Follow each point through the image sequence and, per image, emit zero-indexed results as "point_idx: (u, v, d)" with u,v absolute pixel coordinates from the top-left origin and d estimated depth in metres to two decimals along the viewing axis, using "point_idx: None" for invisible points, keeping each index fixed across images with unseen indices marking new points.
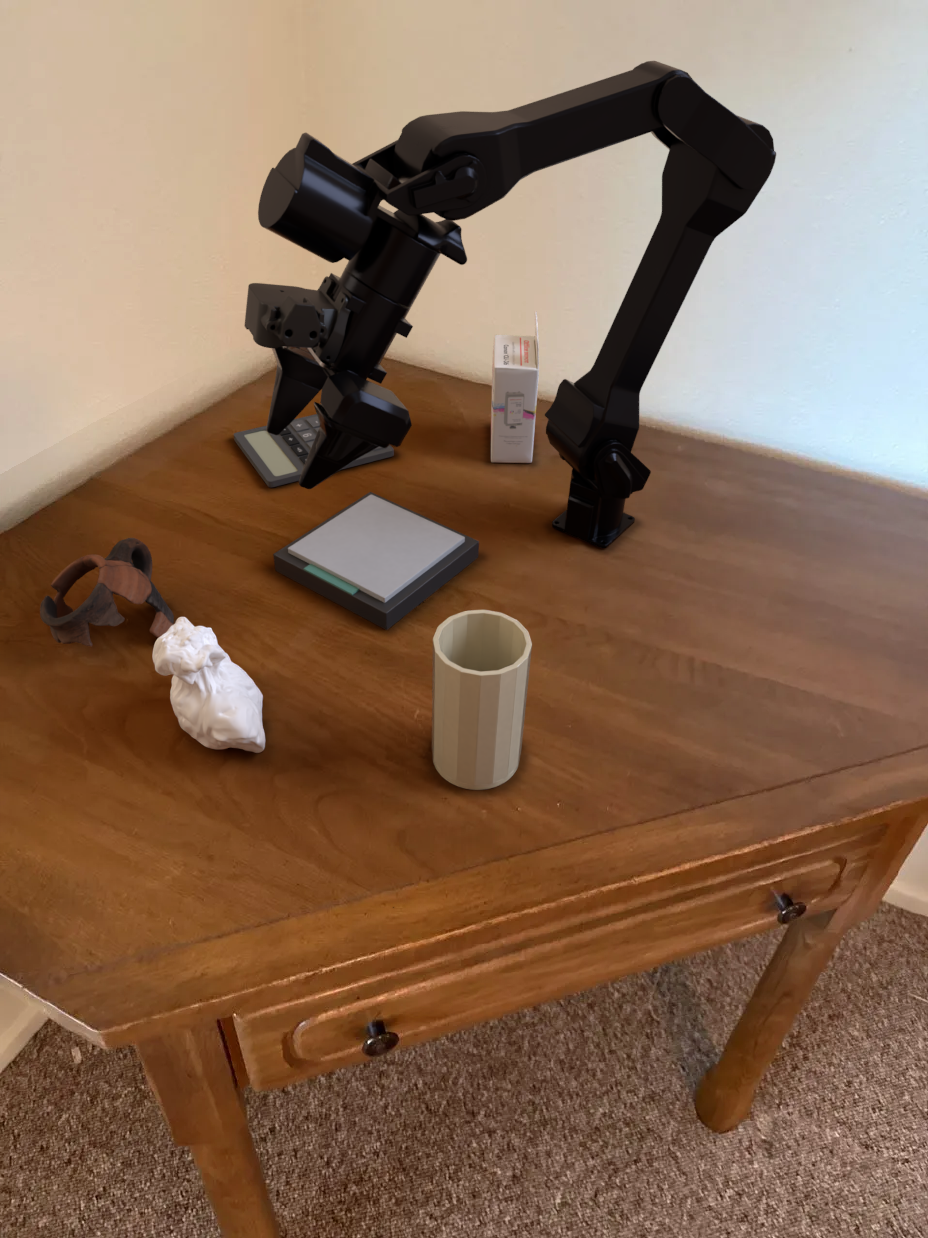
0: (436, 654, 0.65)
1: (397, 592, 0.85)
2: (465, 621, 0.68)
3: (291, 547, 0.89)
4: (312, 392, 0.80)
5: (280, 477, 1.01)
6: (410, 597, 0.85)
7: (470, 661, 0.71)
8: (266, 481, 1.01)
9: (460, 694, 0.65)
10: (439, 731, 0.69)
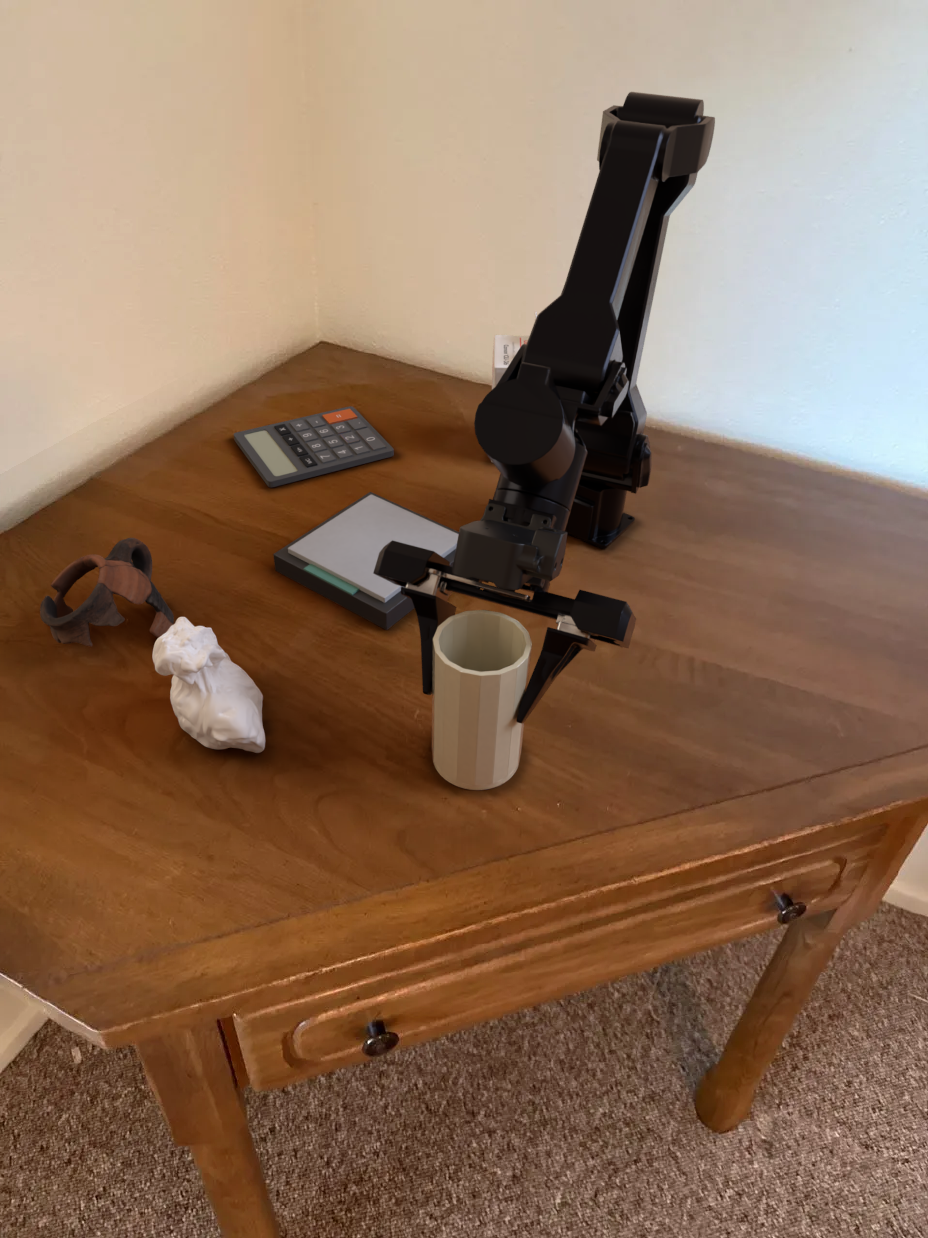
0: (436, 654, 0.65)
1: (397, 592, 0.85)
2: (465, 621, 0.68)
3: (291, 547, 0.89)
4: None
5: (280, 477, 1.01)
6: None
7: (470, 661, 0.71)
8: (266, 481, 1.01)
9: (460, 695, 0.65)
10: (439, 731, 0.69)
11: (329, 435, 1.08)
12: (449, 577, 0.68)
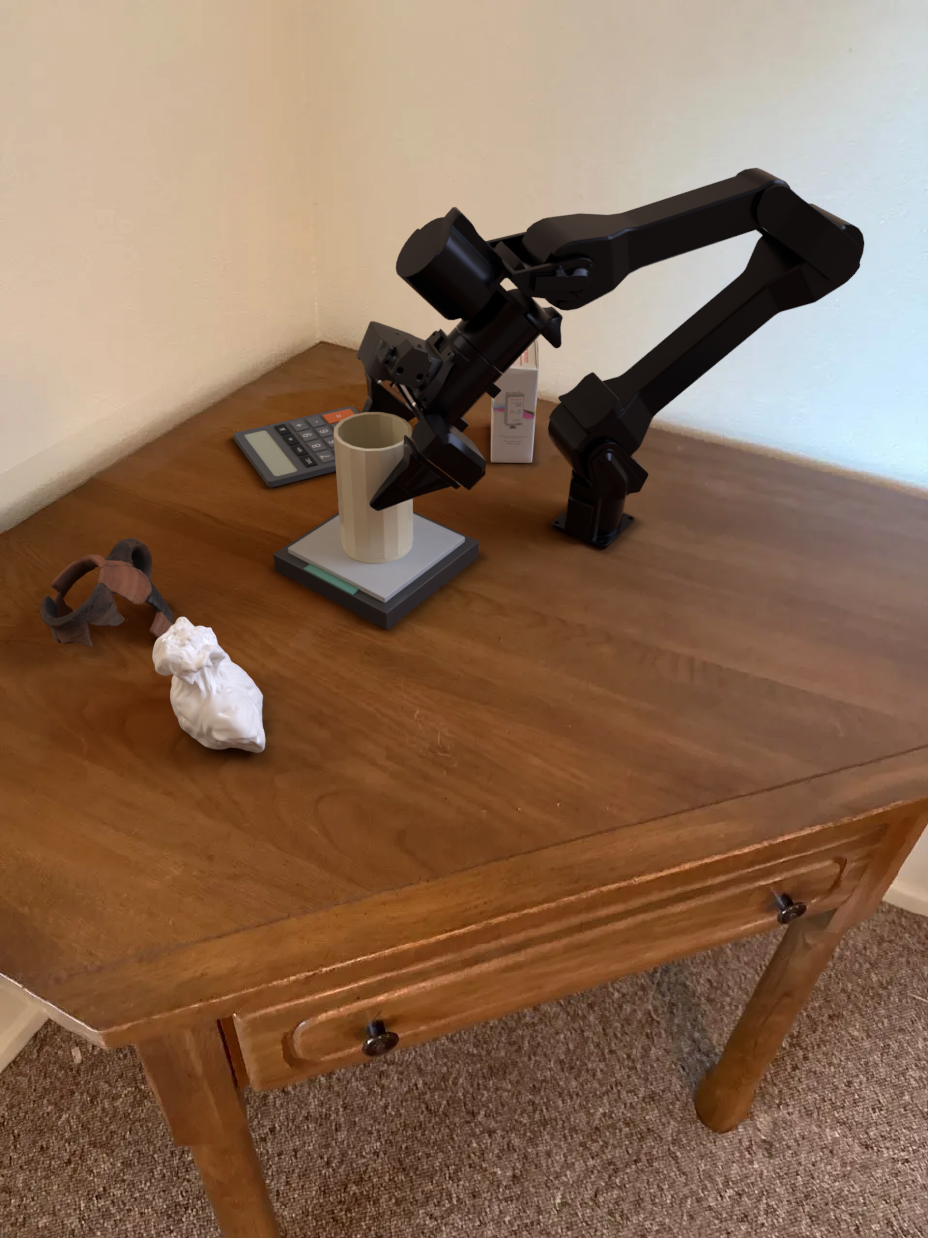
0: None
1: (397, 592, 0.85)
2: (390, 422, 0.85)
3: (291, 547, 0.89)
4: None
5: (280, 477, 1.01)
6: (410, 597, 0.85)
7: None
8: (266, 481, 1.01)
9: (336, 457, 0.83)
10: None
11: (329, 435, 1.08)
12: None
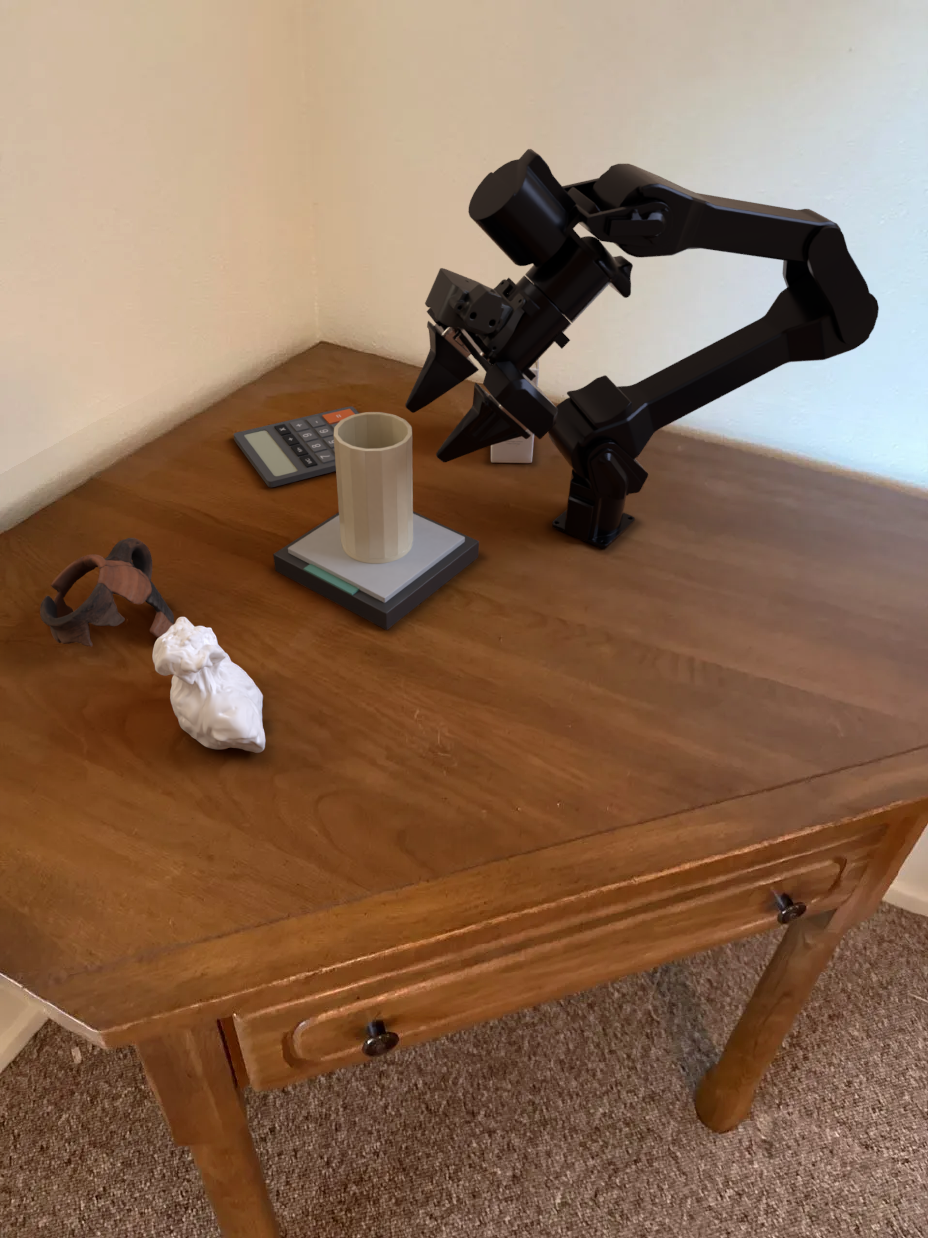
0: None
1: (397, 592, 0.85)
2: (390, 422, 0.85)
3: (291, 547, 0.89)
4: (454, 382, 0.88)
5: (280, 477, 1.01)
6: (410, 597, 0.85)
7: None
8: (266, 481, 1.01)
9: (336, 457, 0.83)
10: None
11: (329, 435, 1.08)
12: (462, 331, 0.84)
